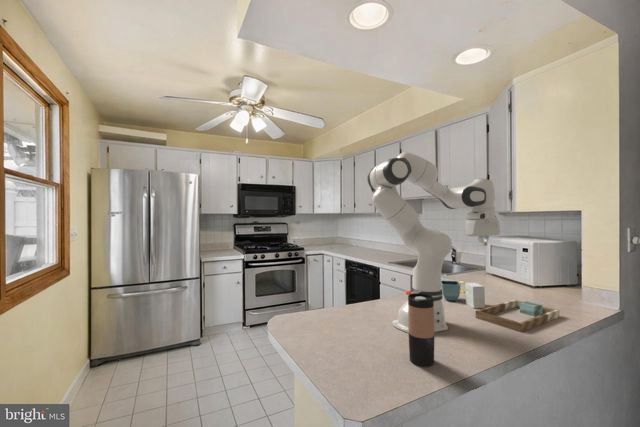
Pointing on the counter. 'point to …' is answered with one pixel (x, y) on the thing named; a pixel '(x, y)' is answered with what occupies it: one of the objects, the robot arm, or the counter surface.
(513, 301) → the striped wooden tray
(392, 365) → the counter surface
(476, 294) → the small box
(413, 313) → the travel mug
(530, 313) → the teal block
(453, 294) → the flower pot
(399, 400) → the counter surface
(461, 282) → the watch
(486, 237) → the robot arm
